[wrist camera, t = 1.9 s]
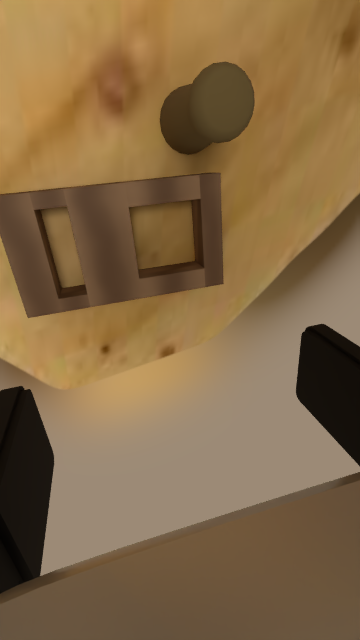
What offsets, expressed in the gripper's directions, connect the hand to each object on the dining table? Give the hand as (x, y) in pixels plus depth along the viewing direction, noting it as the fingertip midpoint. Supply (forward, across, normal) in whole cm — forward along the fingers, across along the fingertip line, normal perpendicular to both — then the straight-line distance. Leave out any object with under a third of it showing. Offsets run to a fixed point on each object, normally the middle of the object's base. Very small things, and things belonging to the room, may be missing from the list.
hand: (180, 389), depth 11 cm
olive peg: (+29, -9, -11) cm, 32 cm away
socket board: (+28, 0, 0) cm, 28 cm away
